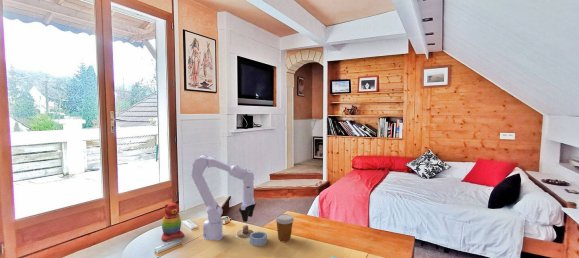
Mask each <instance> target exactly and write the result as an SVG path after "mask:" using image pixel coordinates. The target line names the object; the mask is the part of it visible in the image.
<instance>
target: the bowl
mask: <svg viewBox="0 0 579 258" xmlns="http://www.w3.org/2000/svg"><path fill="white" fill-rule="evenodd" d="M267 243H268V234H267V232H264V231H255V232H253V233H251V234H250V237H249V244H250V245H251V246H254V247H262V246H265V245H266V244H267Z"/></svg>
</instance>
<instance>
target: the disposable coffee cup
mask: <svg viewBox="0 0 579 258" xmlns="http://www.w3.org/2000/svg"><path fill="white" fill-rule="evenodd" d="M275 217H276V218H275V222H276V229H277V238H278V240H279V241H280V242H281V243H287V242H290V241H291V236H292V229H293V223H294V220H295V219H294V216H293V215H292V214H288V213H280V214H277V215H276V216H275Z"/></svg>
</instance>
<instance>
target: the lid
mask: <svg viewBox="0 0 579 258" xmlns="http://www.w3.org/2000/svg"><path fill="white" fill-rule="evenodd" d="M253 232H254V230H252V229H249V225H247V224H246V225H242V229H240V230H238V231H237V232H236V235H237V236H238V237H241V238H240V239H248V237H250V234H251V233H253ZM238 237H237V238H238Z"/></svg>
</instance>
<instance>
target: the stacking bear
mask: <svg viewBox="0 0 579 258" xmlns="http://www.w3.org/2000/svg"><path fill="white" fill-rule="evenodd" d="M164 213H165V215H164V216H163V217H162V222H161V228H162V235H161V241H162V242H163V243H165V242H171V240H174V239H175V240H176V239H181V238H184V237H185V233H184V232H183V231H182V230H181V227H182V219H181V216H180V214H179V206H178V202H170V203H168V204H167V203H166V204H165V205H164Z"/></svg>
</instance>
